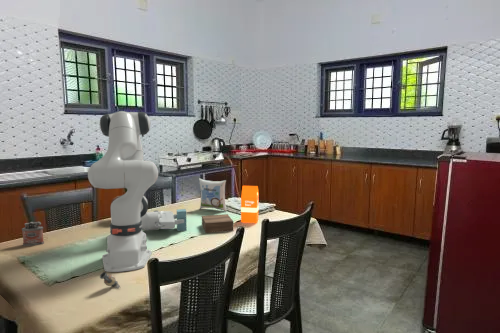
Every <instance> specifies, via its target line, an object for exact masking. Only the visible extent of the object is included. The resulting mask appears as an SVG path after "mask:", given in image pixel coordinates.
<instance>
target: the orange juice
mask: <svg viewBox="0 0 500 333" xmlns="http://www.w3.org/2000/svg"><path fill="white" fill-rule="evenodd" d="M259 195H260V193H259V186H258V185H242V189H241V196H240V223H244V224H247V223H248V224H257V223H258V221H259V201H260V200H259V197H260V196H259Z"/></svg>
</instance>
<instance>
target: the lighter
mask: <svg viewBox="0 0 500 333" xmlns="http://www.w3.org/2000/svg"><path fill="white" fill-rule="evenodd" d="M41 225H42V222H41V221H30V222H26V223H24V226H25V227H23V228H21V231H22V241H23V242H22V246H23V247H25V246H26V247H29V246H31V247H32V246H41V245H43V244H45V241H44V231H43V230H44V227H43V226H41Z"/></svg>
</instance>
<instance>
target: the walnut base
mask: <svg viewBox="0 0 500 333" xmlns="http://www.w3.org/2000/svg"><path fill="white" fill-rule="evenodd" d="M201 226H202V229H203V230H204V232H205V234H212V233H220V232H221V233H223V232H232V231H233V232H234V220H233V219H232V218H231V217H230V216H229V214H228V213H227V214H226V213H225V214H224V213H223V214H212V215H208V214H207V215H201Z"/></svg>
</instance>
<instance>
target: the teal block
mask: <svg viewBox="0 0 500 333" xmlns="http://www.w3.org/2000/svg"><path fill="white" fill-rule="evenodd" d="M176 214H177V219H176V220H180V219H184V223H180V224H177V225H176V231H177V232H181V231H182V232H183V231H187V227H188V226H187V210H186V208H180V209H176Z"/></svg>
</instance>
